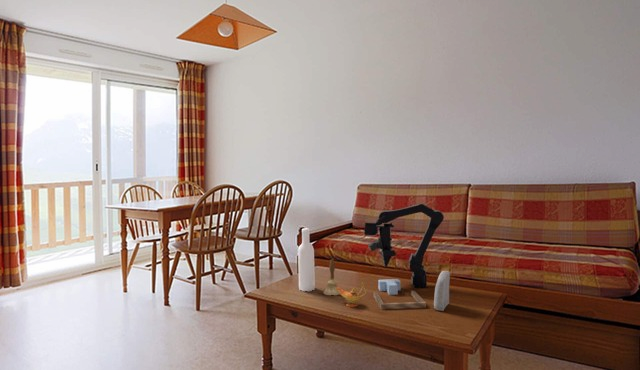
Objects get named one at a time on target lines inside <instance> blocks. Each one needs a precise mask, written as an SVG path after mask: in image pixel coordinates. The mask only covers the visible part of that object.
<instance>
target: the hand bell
mask: <svg viewBox="0 0 640 370" xmlns="http://www.w3.org/2000/svg"><path fill="white" fill-rule="evenodd" d="M328 267H329V272H330V277H329V278H330V279H329V280H328V281H327V284H326V288H325V290H324V291H323V294H324V295H326V296H331V295H334V296H338V295H341V294H340V293H339V292H338V291H337V290H336V289H335V287H333V286H332V285H336V286H338V282H337V280H335V269H336V265H335V261H334V259H330V262H329V266H328Z"/></svg>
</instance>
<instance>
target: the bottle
mask: <svg viewBox="0 0 640 370" xmlns="http://www.w3.org/2000/svg"><path fill="white" fill-rule="evenodd" d="M310 232H311V231H310V228H307V227H305V228H302V229H301V244H300V245H299V246H298V249H297V258H298V263H297V264H298V290H299V291H300V290H302V291H301V292H305V291H307V292H312V290H313V291H314V290H315V289H316V282H315V281H316V279H315V277H316V276H315V249H314V246H313V244H312V243H310Z"/></svg>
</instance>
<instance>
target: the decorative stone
mask: <svg viewBox="0 0 640 370" xmlns="http://www.w3.org/2000/svg"><path fill="white" fill-rule="evenodd" d="M450 276H451V273H450V271H449V270H442V271H441V272H440V273H439V275H438V278H437V280H436V284H435V287H434V297H433V298H434V299H433V307H434V310H436V311H440V312H444V310H445V309H446V308H447V306H448V305H449V304H450V282H451V281H450V279H451V277H450Z"/></svg>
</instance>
